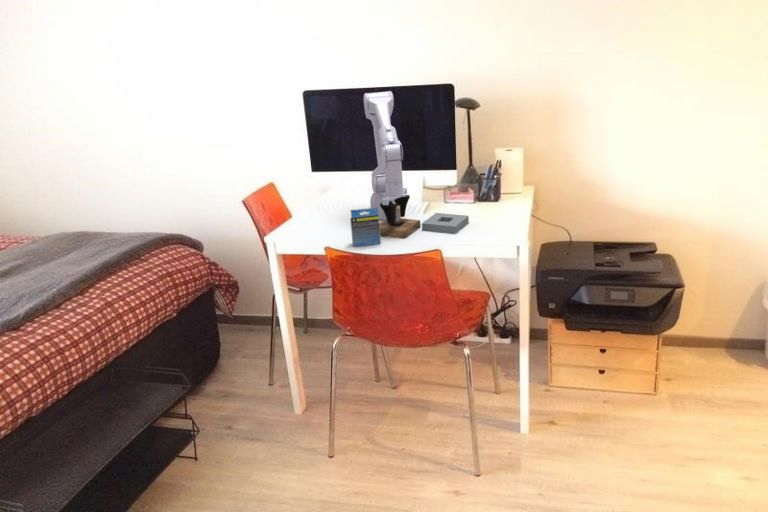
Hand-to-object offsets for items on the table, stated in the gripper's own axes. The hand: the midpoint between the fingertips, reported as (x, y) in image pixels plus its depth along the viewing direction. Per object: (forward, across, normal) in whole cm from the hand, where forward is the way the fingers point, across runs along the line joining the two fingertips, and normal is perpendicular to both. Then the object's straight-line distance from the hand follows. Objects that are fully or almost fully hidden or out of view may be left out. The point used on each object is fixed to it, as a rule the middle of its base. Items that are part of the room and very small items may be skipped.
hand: (396, 220), depth 204 cm
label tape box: (+4, -14, +4) cm, 15 cm away
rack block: (+4, +9, -14) cm, 17 cm away
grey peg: (+4, 0, 0) cm, 4 cm away
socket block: (+4, 0, 0) cm, 4 cm away
